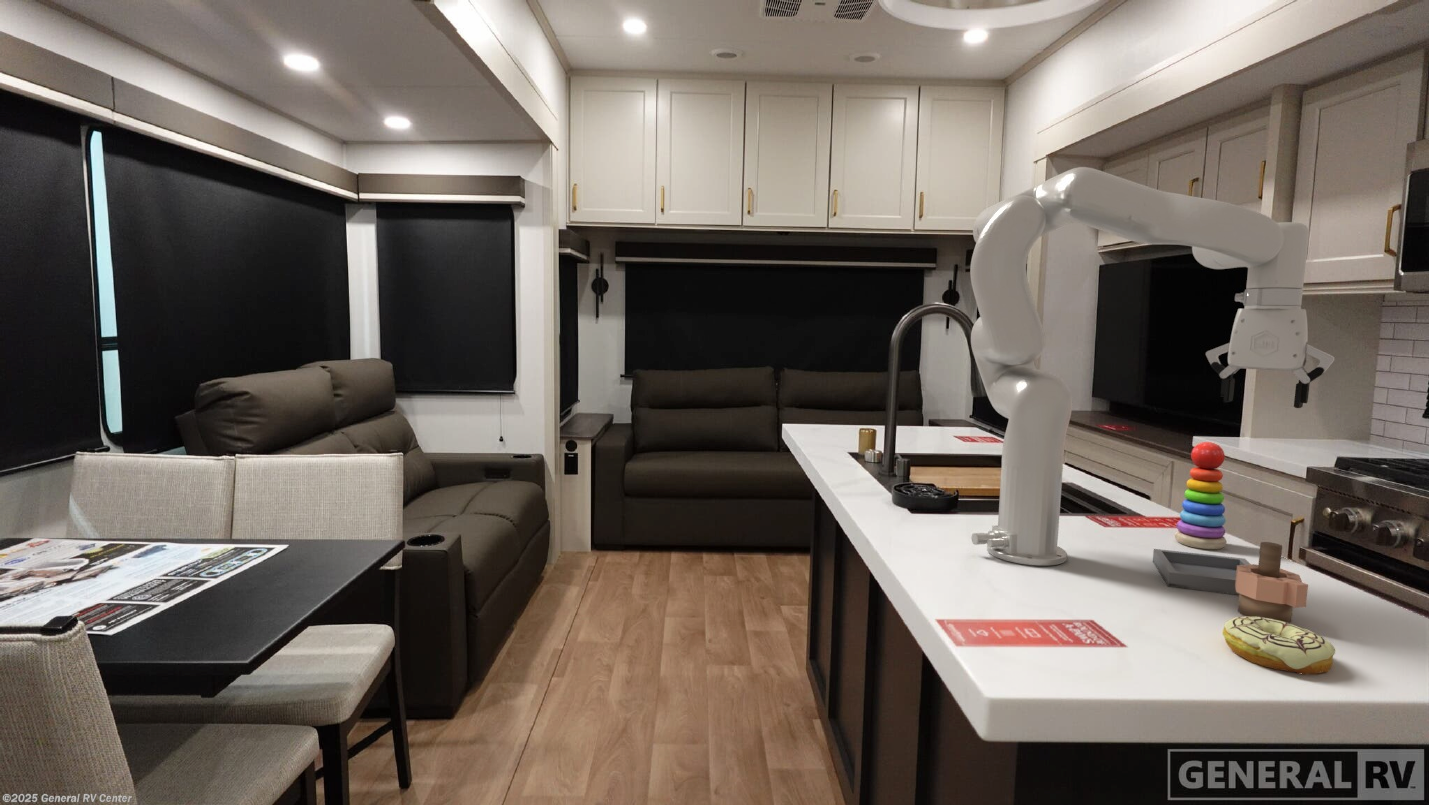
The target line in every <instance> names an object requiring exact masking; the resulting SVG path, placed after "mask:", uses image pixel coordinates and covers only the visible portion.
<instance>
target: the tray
mask: <svg viewBox="0 0 1429 805" xmlns="http://www.w3.org/2000/svg"><path fill="white" fill-rule="evenodd" d="M1152 563H1153V565H1154V566H1155V568H1156V569H1157V571H1158V572H1159V575H1160V576H1161V577H1162V579H1163V580H1164V582H1165V584H1166V585H1167V587H1171V588H1179V589H1187V590H1188V589H1189V590H1194V591H1202V592H1211V593H1219V594H1220V593H1221V594H1228V595H1234V596H1239V594H1240V593H1237V592H1236V588H1235V582H1236V571H1237V565H1250V564H1251V562H1249V561H1248V560H1247V558H1241V557H1233V556H1224V555H1216V554H1215V555H1214V554H1205V553H1196V552H1188V551H1187V552H1186V551H1180V550H1179V551H1176V550H1167V549H1160V548H1159V549H1158V548H1153V551H1152Z"/></svg>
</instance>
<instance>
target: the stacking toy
mask: <svg viewBox="0 0 1429 805" xmlns="http://www.w3.org/2000/svg"><path fill="white" fill-rule="evenodd" d="M1190 456H1191V457H1190V458H1191V460H1192V463H1193V464H1194V465H1195V467H1193V468H1191V469H1190V471H1189V475H1190V479H1188V480H1187V481H1186V487H1187V489H1186V490H1185V491H1184V497H1185V498H1186V499H1184V500H1183V502H1182V504H1181V507H1182V510H1181V512H1180V513H1179V517H1180V518H1179V519H1180V520H1178V521H1177V523H1176V528H1177V531H1176V532H1175V533H1174V538H1175V540H1176V542H1178V543H1180V544H1181V545H1184V546H1187V547H1192V548H1197V549H1202V550H1220V549H1223V548H1224V547H1226V546H1227V540H1226V538H1225V537H1224V536H1225V534H1226V529H1225V527H1224V525H1225V524H1226V521H1227V520H1226V517H1225V516H1224V513H1225V511H1226V508H1225V505H1224V504H1222V503H1223V502H1224V500H1225V496H1224V494H1223V493H1222V490H1223V489H1224V486H1223V484H1222V483H1221V480H1223V476H1224V474H1223V472H1222V471H1221V470H1219V469H1218V468H1219V467H1221V466H1222V464H1223V463H1224V461H1225V458H1226V457H1225V451H1224V449H1223V448H1222V447H1221V446H1220V445H1219V444H1217V443H1215V442H1211V441H1210V442H1209V441H1205V442H1199V443H1198V444H1196V445H1195V446H1194V447H1193V448H1192V450H1191V454H1190Z"/></svg>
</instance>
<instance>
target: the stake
mask: <svg viewBox="0 0 1429 805" xmlns="http://www.w3.org/2000/svg"><path fill="white" fill-rule="evenodd" d="M1282 553H1283V545H1282V544H1279V543H1276V542H1270V541H1261V542H1260V546H1259V555H1258V564H1257V565H1258V574H1259V575H1261V576H1266V577H1273V578H1279V574H1280V569H1281V563H1282ZM1293 609H1294V607H1292V606H1290V605H1287V604H1278V603H1272V602H1266V601H1260V600H1255V599H1252V598H1250V597H1247V596H1245V595H1242V594H1239V595H1238V607H1237V612H1238V613H1240V614H1241V615H1242V616H1257V617H1263V618H1270V619H1275V620H1280V621H1283V622H1287V623H1290V624H1291V622H1292V620H1293V619H1292V618H1293Z"/></svg>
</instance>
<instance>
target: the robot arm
mask: <svg viewBox="0 0 1429 805" xmlns="http://www.w3.org/2000/svg"><path fill="white" fill-rule="evenodd" d="M1073 223H1078V224H1081V225H1084V226H1087V227H1089V228H1093V229H1096V230H1099V231H1103V232H1106V233H1108V234H1111V235H1113V236H1116V237H1120V238H1122V239H1125V240H1128V241H1131V242H1134V243H1135V242H1136V243H1140V244H1141V243H1142V244H1146V245H1147V244H1148V245H1176V246H1177V245H1179V246H1187V247H1191V250H1192V255H1193V257H1194V259H1195V260H1196V261H1197V263H1199V264H1200V265H1202V266H1203V267H1205V268H1209V269H1213V270H1225V269H1234V268H1235V269H1237V268H1247V278H1246V279H1247V280H1246V286H1245V287H1246V289H1244V291H1243V292H1240V293H1235V295H1234V301H1235V302H1240V303H1242V304H1243V306H1244V308H1238V309H1237V312H1236V314H1235V318H1234V320H1233V321H1234V322H1233V325H1232V330H1231V334H1230V340H1229V342H1228V343H1225V344H1222V345H1220V346H1218V347H1215V348H1213V349H1212V348H1211V349H1210V350H1207V351H1206V352H1205V356H1206V358H1207V360H1208V362H1209V364H1210V367H1211V368H1212V369H1213V370H1214V371H1215V372H1216V373H1217V374H1218V376H1219V377H1220V379H1221V384H1220V385H1221V386H1220V397H1221V398H1223V403H1230V402H1233V400H1234V394H1235V393H1234V392H1235V384H1236V380H1235V377H1234V374H1236V373H1237V372H1238V371H1239V370H1240V369H1245V370H1246V369H1247V370H1249V369H1250V370H1263V371H1281V372H1282V371H1283V372H1284V371H1286V372H1287V371H1289V372H1290V371H1291V372H1292V373H1293V374H1294V375H1295V376H1296V378H1297V379H1298V382H1297V383H1296V384H1295V390H1294V391H1295V392H1294V399H1293V400H1294V401H1293V407H1294V408H1296V409H1301V408H1303V404H1308V402H1309V393H1310V384H1311V383H1312V382H1313V381H1315V380H1317V379H1318V378H1319V377H1321V376H1322V375H1324V374H1325V372H1327V370H1328V369H1329V368H1330V366H1331V365H1332V364H1333V363H1334V361H1335V356H1333V355H1331V354H1329V353H1327V352H1324V351H1322V350H1320V349H1318V348H1315V347H1314V346H1312V345H1310V344H1308V339H1309V338H1308V332H1309V331H1308V330H1309V329H1308V316H1307V309H1305V308H1304V309H1302V307H1301V306H1302V301H1303V292H1304V283H1305V282H1304V281H1305V273H1306V265H1307V264H1306V263H1307V257H1308V256H1307V255H1308V245H1309V237H1310V235H1309V234H1310V231H1309V228H1308V226H1307V225H1306V224H1305V223H1302V222H1292V221H1291V222H1290V221H1287V222H1280V221H1279V222H1276V221H1275V219H1272V218H1271V217H1270V216H1267V215H1265V214H1263V213H1260V212H1257V211H1254V210H1251V209H1249V208H1246V207H1243V206H1239V205H1237V204H1233V203H1229V202H1226V201H1220V200H1216V199H1211V198H1203V197H1199V196H1192V195H1186V194H1182V193H1177V192H1176V193H1175V192H1168V191H1163V190H1160V189H1156V188H1153V187H1150V186H1147V185H1145V184H1141V183H1138V182H1135V181H1133V180H1130V179H1126V178H1123V177H1121V176H1117V175H1115V174H1114V175H1113V174H1111V173H1108V172H1105V171H1102V170H1099V169H1095V168H1093V167H1087V166H1079V167H1074V168H1070V169H1068V170H1066V171H1064V172H1061V173H1060V174H1057V175H1055V176H1053V177H1051V178H1049V179H1047V180H1045V181H1043V182H1041V183H1039V184H1036V185H1035V186H1033V187H1030V188H1028V189H1027V190H1024V191H1023V192H1020V193H1017V194H1016V195H1013V196H1011V197H1008V198H1006V199H1003V200H1001V201H999V202H997V203H995V204H993V205H991V206H988V207H987V208H985V209H984V210H982V211H981V212H980V213H979V214H978V215H977V217H976V219H975V221H974V223H973V226H972V235H973V240H974V242H975V246H974V249H973V253H972V256H971V261H970V272H969V273H970V282H971V288H972V291H973V295H974V298H975V303H976V307H977V310H978V312H979V313H978V314H979V317H978V318H977V319H976V321H975V322H974V324H973V325H972V329H971V334H970V345H971V346H970V347H971V350H972V351H971V352H972V355H973V356H974V357H973V358H974V359H975V363H976V366H977V369H978V372H979V375H980V377H981V380H982V381H981V382H982V383H983V387H984V389H985V390H984V391H985V393H986V394H987V395H986V396H987V398H988V400H989V402H990V404H991V406H992V408H993V409H994V410H995V412H997V413H998V414H999V415H1001V416H1002V417H1004V418H1005V419H1008V422H1007V426H1006V430H1005V433H1004V437H1003V442H1002V453H1001V471H1000V485H999V486H1000V489H999V504H998V506H999V507H998V520H997V525H991V530H989V531H988V532H987V533H985V532H974V533H972V535H971V537H970V538H971V543H972V544H973V545H975V546H978V545H985V544H986V551H987V552H988V553H989V554H990V555H992V556H993V557H994V558H998V559H1000V560H1003V561H1007V562H1011V563H1015V564H1021V565H1027V566H1028V565H1029V566H1038V567H1040V566H1043V567H1044V566H1057V565H1060V564H1063V563H1065V562H1066V561H1067V557H1068V556H1067V555H1068V553H1067V551H1066V550H1065V549H1063V548H1062V547H1061V546H1058V540H1059V527H1060V525H1059V524H1060V516H1061V515H1060V513H1061V500H1062V499H1061V498H1062V485H1063V469H1064V467H1063V465H1064V455H1065V453H1064V452H1065V445H1066V444H1065V443H1066V437H1067V432H1068V427H1069V424H1070V420H1071V417H1072V412H1073V396H1072V394H1071V389H1070V388H1069V386H1068V385H1067V383H1066V381H1065V380H1063V379H1062V378H1061V377H1060V376H1058V375H1057V374H1055V373H1053V372H1050V371H1047V370H1043V369H1037V368H1036V365H1035V362H1034V361H1036V360H1037V359H1038V358H1039V357H1040V356H1041V355H1042V354H1043V352H1044V349H1045V347H1046V346H1045V345H1046V335H1045V330H1044V326H1043V324H1042V320H1041V318H1040V315H1039V312H1038V309H1037V306H1036V304H1035V300H1034V297H1033V295H1032V292H1031V288H1030V284H1029V281H1028V280H1029V279H1028V275H1027V263H1028V257H1029V254H1030V252H1031V249H1032V247H1033V246H1034V245H1035V243H1036V242H1037V241H1038V240H1039V238H1041V237H1043V236H1045V235H1047V234H1049V233H1051V232H1053V231H1056V230H1058V229H1060V228H1063V227H1064V226H1066V225H1070V224H1073ZM1226 353H1227V364H1228V365H1227V366H1226V367H1225V365H1224V364H1222V363H1221V361H1220V359H1219V356H1221V355H1222V354H1226ZM1308 356H1310V357H1313V358H1315V359H1317V360H1318V361H1319V363H1318V365H1317V366H1316V367H1315V368H1314V369H1312V370H1311V371H1309V372H1308V371H1307V369H1306V368H1305V366H1306V364H1307V358H1308Z"/></svg>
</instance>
